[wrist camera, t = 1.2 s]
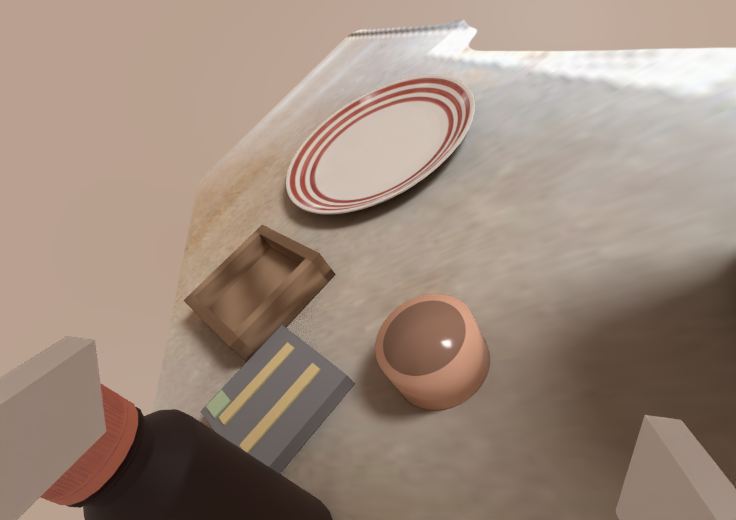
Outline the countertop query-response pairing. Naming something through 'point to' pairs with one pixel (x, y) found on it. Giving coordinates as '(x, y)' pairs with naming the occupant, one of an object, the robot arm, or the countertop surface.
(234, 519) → the vinegar
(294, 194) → the dinner plate
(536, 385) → the countertop surface
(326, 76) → the countertop surface
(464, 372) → the ramekin
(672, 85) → the countertop surface
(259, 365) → the tester pad
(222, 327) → the wooden tray
